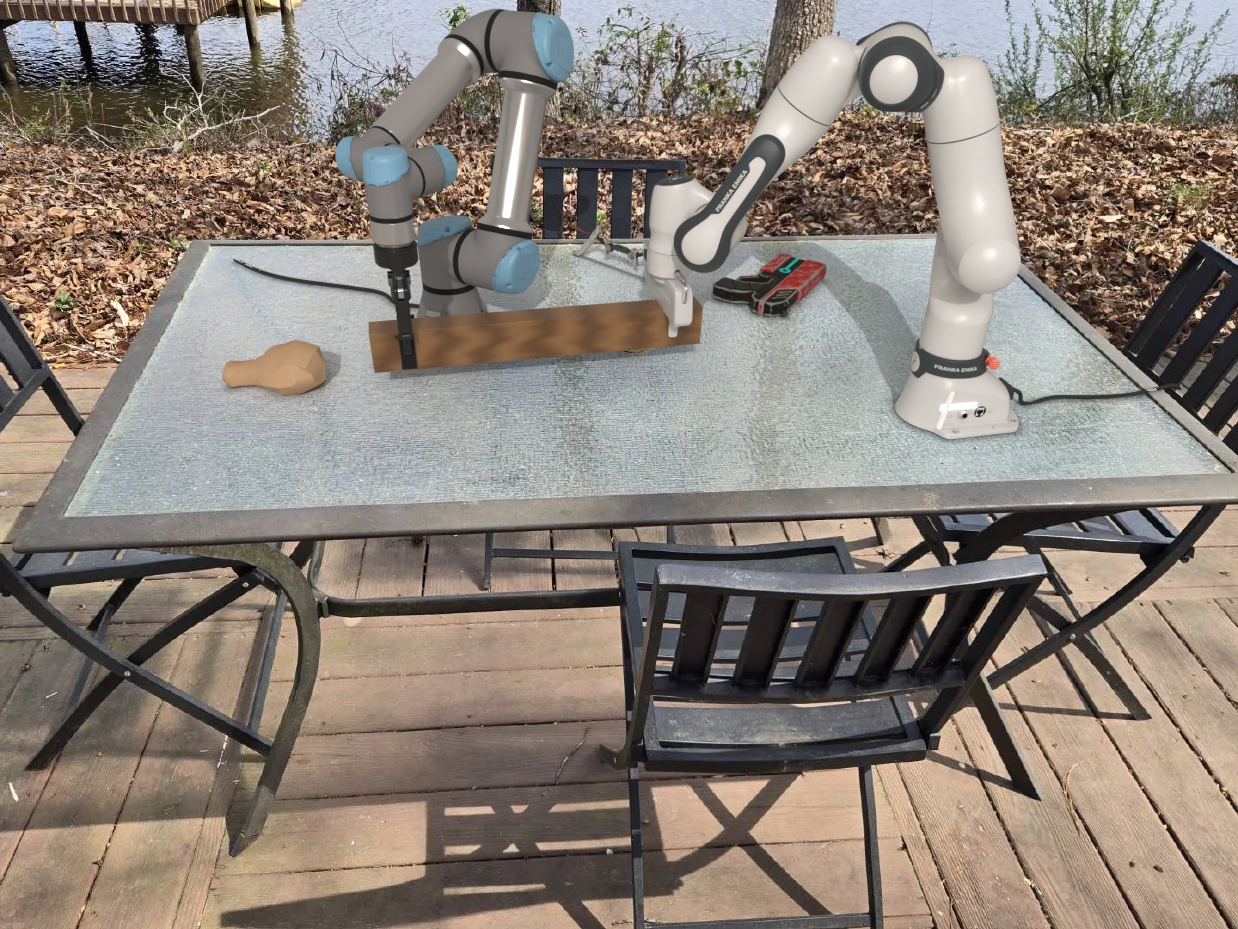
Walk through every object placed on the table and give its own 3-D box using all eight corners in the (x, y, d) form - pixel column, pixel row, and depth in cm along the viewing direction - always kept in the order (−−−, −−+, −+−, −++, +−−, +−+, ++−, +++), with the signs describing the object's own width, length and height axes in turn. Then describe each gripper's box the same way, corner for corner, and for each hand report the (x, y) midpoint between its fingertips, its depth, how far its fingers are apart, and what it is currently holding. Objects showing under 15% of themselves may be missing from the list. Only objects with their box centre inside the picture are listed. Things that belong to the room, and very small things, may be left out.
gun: (708, 284, 207) (784, 305, 199) (760, 245, 229) (831, 262, 221) (706, 302, 209) (781, 323, 201) (758, 261, 231) (828, 278, 223)
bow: (681, 290, 215) (684, 251, 209) (676, 292, 214) (679, 253, 208) (570, 250, 236) (570, 213, 230) (565, 252, 235) (565, 215, 229)
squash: (325, 401, 166) (308, 363, 160) (224, 409, 168) (204, 372, 162) (338, 366, 174) (323, 329, 168) (242, 374, 176) (223, 338, 169)
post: (374, 373, 163) (368, 334, 158) (374, 359, 167) (368, 321, 162) (700, 343, 176) (703, 307, 172) (691, 332, 180) (694, 296, 176)
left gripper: (419, 258, 146) (432, 381, 159) (413, 223, 161) (425, 338, 174) (373, 261, 145) (390, 385, 157) (371, 225, 160) (387, 341, 172)
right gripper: (703, 281, 160) (698, 349, 168) (670, 243, 177) (667, 307, 184) (670, 283, 159) (666, 352, 166) (640, 245, 175) (638, 309, 183)
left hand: (408, 360), depth 166 cm, fingers closed on post, 5 cm apart
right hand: (666, 328), depth 175 cm, fingers closed on post, 5 cm apart
